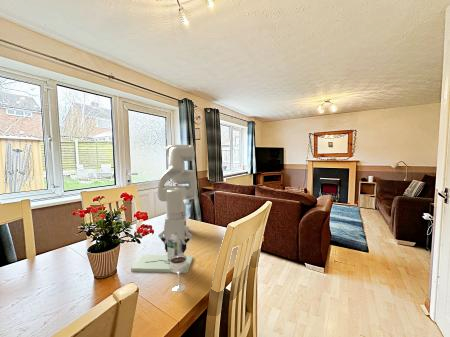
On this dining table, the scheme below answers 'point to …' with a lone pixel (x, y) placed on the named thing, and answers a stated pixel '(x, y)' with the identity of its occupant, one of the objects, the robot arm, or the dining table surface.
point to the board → (157, 264)
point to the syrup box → (174, 246)
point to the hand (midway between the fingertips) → (175, 250)
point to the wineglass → (178, 269)
